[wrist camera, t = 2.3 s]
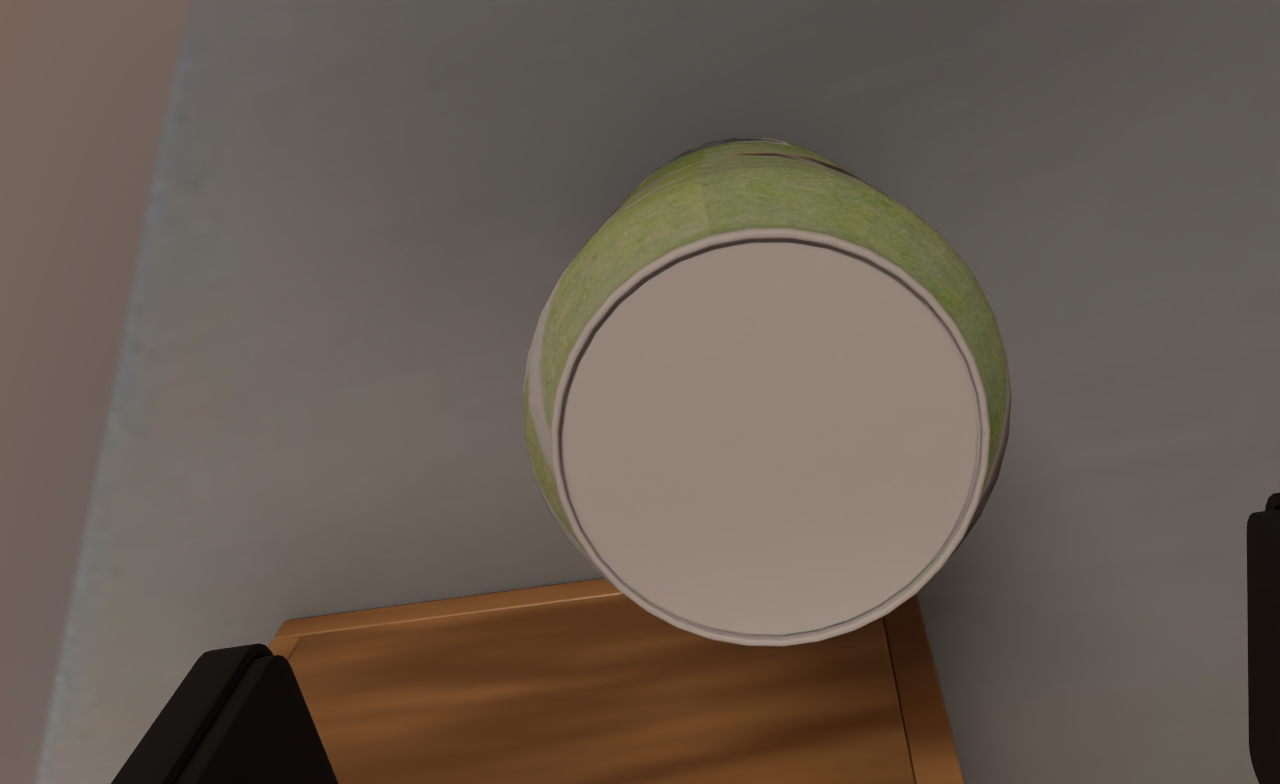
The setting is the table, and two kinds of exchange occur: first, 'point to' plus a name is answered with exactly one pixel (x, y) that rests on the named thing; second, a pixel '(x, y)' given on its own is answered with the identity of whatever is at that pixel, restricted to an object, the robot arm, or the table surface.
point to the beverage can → (766, 397)
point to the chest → (613, 696)
